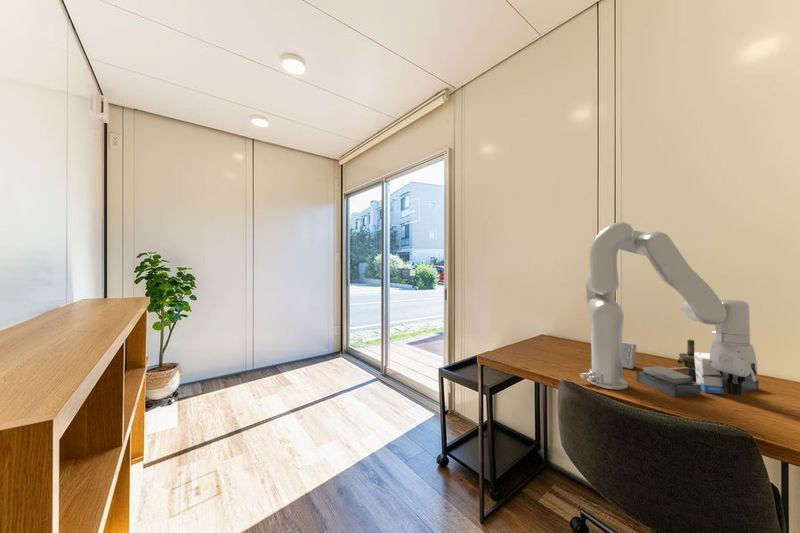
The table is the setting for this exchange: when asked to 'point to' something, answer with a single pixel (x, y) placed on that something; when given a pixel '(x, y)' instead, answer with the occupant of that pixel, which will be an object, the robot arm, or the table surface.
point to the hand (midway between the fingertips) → (734, 394)
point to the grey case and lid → (679, 381)
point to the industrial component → (688, 355)
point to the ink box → (707, 374)
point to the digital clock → (628, 354)
